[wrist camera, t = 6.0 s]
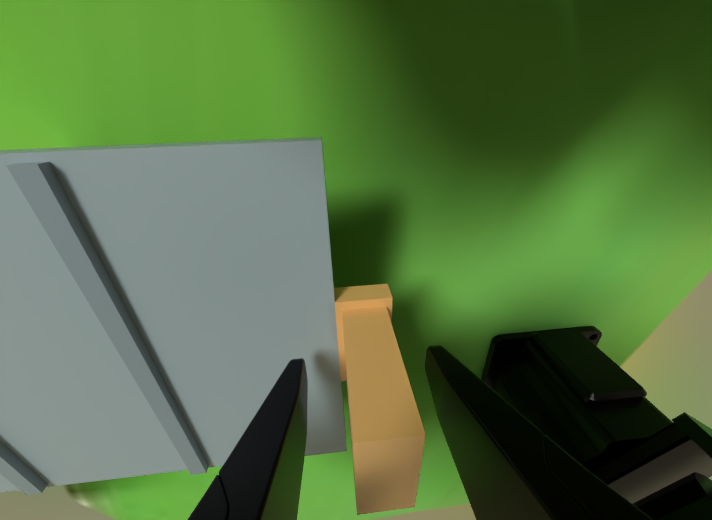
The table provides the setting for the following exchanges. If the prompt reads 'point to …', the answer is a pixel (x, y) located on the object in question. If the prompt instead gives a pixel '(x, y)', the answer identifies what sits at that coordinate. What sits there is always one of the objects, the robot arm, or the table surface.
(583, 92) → the table surface
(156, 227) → the lid
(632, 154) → the table surface
